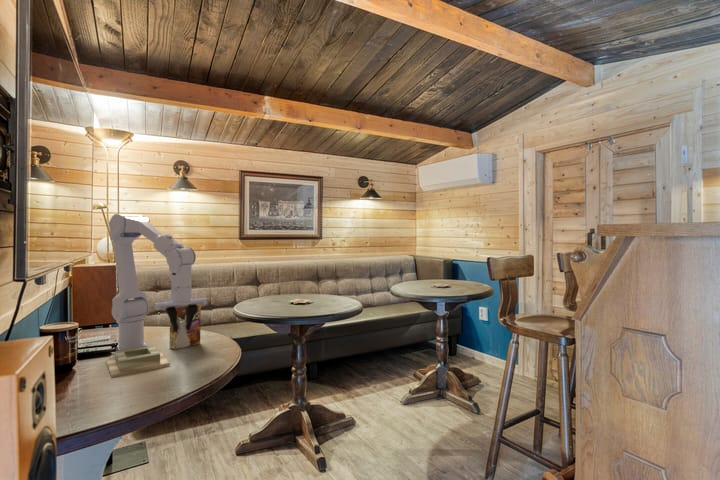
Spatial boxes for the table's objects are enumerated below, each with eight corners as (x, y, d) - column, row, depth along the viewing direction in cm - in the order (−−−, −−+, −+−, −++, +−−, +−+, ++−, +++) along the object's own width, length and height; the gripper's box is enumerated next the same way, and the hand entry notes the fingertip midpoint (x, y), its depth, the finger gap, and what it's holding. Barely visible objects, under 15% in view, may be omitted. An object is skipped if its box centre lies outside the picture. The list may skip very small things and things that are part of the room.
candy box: (175, 350, 122) (175, 303, 121) (169, 347, 124) (168, 302, 124) (201, 343, 129) (201, 299, 128) (194, 341, 131) (194, 298, 131)
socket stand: (106, 362, 110) (106, 351, 110) (159, 352, 119) (159, 342, 119) (111, 377, 99) (111, 365, 99) (169, 365, 108) (169, 354, 108)
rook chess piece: (183, 348, 114) (181, 322, 114) (171, 347, 115) (170, 321, 115) (193, 344, 118) (192, 319, 118) (182, 343, 119) (181, 318, 119)
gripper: (157, 290, 108) (158, 337, 109) (209, 286, 117) (209, 329, 118) (153, 287, 114) (153, 331, 114) (202, 283, 123) (203, 324, 123)
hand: (181, 330), depth 116 cm, fingers closed on rook chess piece, 3 cm apart
